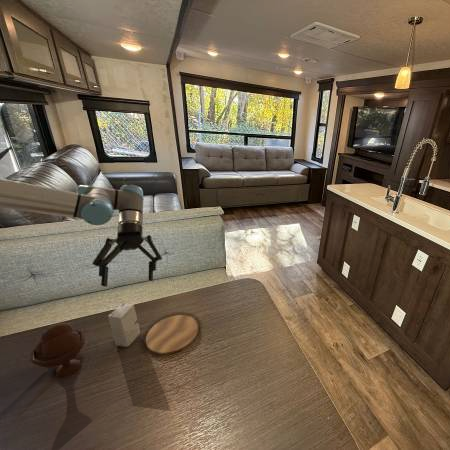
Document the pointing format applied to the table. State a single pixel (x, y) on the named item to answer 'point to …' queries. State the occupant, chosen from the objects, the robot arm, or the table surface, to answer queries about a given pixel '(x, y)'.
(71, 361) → the ice cream bowl
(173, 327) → the wooden trivet
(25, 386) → the table surface
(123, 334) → the cosmetic box
